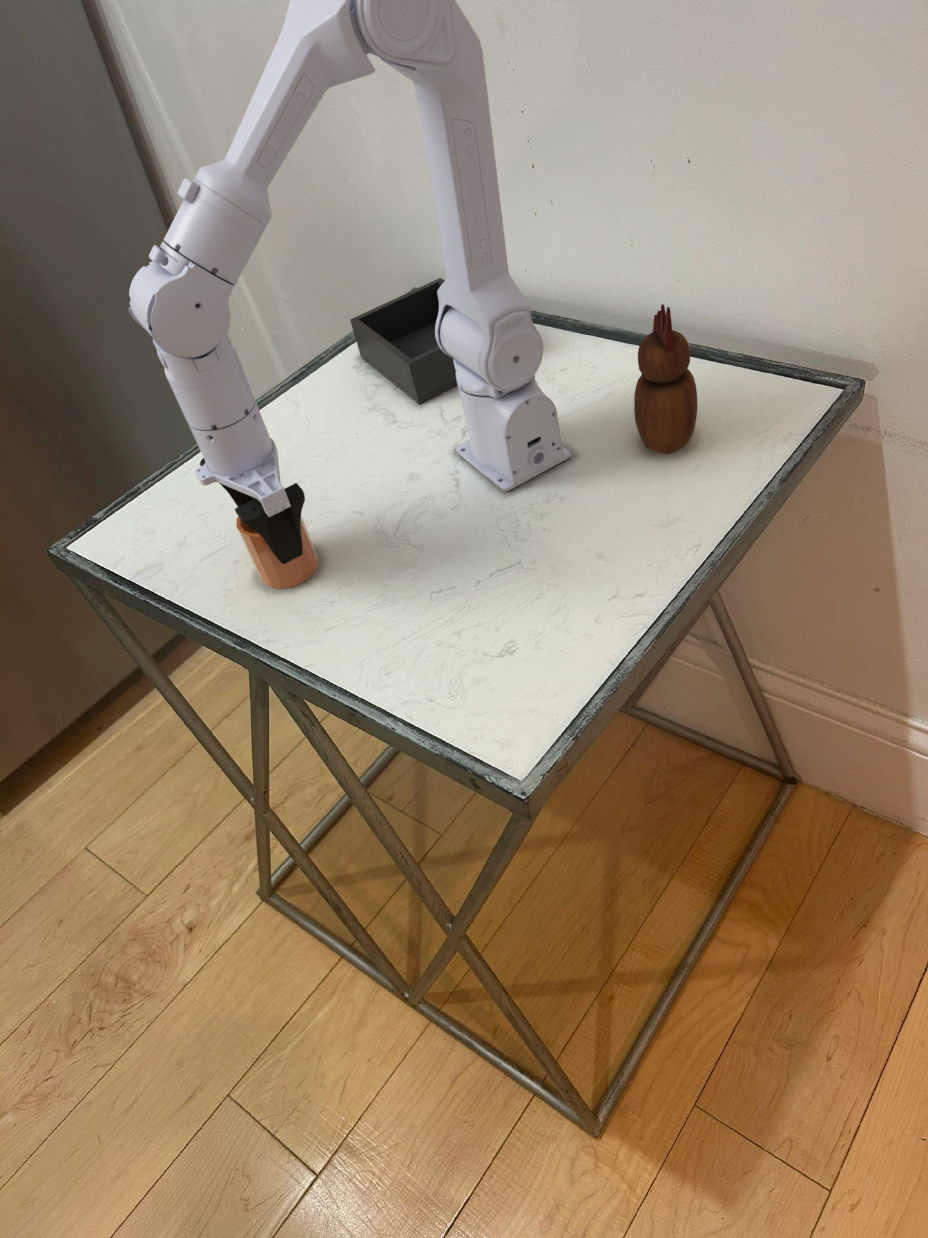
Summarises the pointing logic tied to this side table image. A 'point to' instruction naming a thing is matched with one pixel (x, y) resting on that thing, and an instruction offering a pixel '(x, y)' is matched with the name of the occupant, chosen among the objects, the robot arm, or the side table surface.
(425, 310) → the dark grey storage bin
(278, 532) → the robot arm
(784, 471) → the side table surface
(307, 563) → the pot
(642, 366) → the wooden figurine
